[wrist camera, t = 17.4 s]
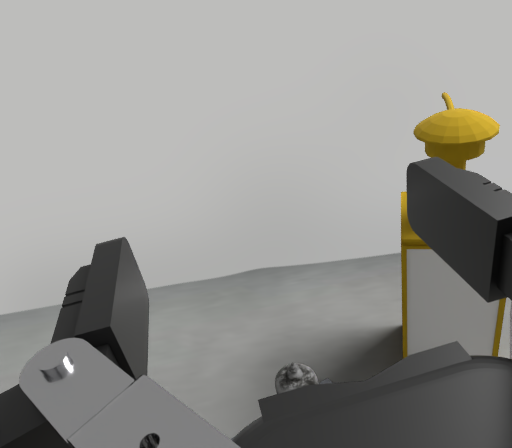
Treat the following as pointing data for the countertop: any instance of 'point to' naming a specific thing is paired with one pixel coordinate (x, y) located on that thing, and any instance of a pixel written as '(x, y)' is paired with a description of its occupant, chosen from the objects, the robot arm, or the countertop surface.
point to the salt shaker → (294, 377)
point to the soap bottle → (434, 267)
